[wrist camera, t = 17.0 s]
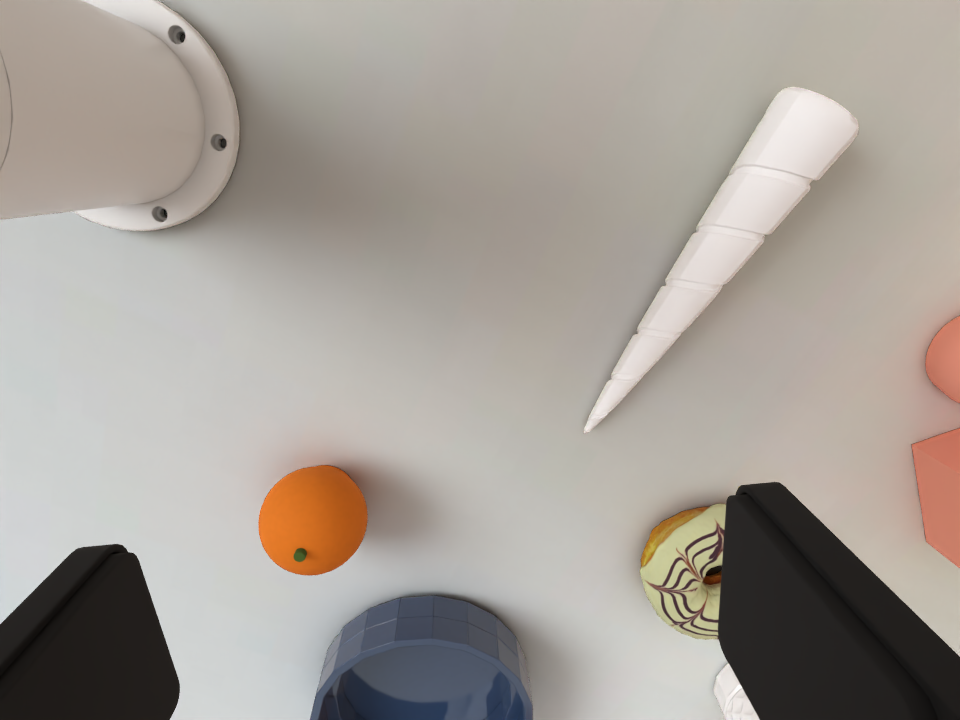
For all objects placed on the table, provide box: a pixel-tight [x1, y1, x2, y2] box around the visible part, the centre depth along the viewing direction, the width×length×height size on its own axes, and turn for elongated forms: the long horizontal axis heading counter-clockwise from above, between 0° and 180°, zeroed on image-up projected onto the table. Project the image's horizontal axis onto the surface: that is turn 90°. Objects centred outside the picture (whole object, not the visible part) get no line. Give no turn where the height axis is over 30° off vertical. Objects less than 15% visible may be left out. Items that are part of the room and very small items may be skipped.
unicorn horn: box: [584, 87, 859, 434], centre depth 34 cm, size 5×24×5 cm, turn 147°
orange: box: [259, 465, 368, 575], centre depth 37 cm, size 7×7×7 cm
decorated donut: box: [640, 504, 726, 640], centre depth 42 cm, size 10×11×4 cm
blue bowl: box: [310, 596, 533, 720], centre depth 44 cm, size 16×16×5 cm
